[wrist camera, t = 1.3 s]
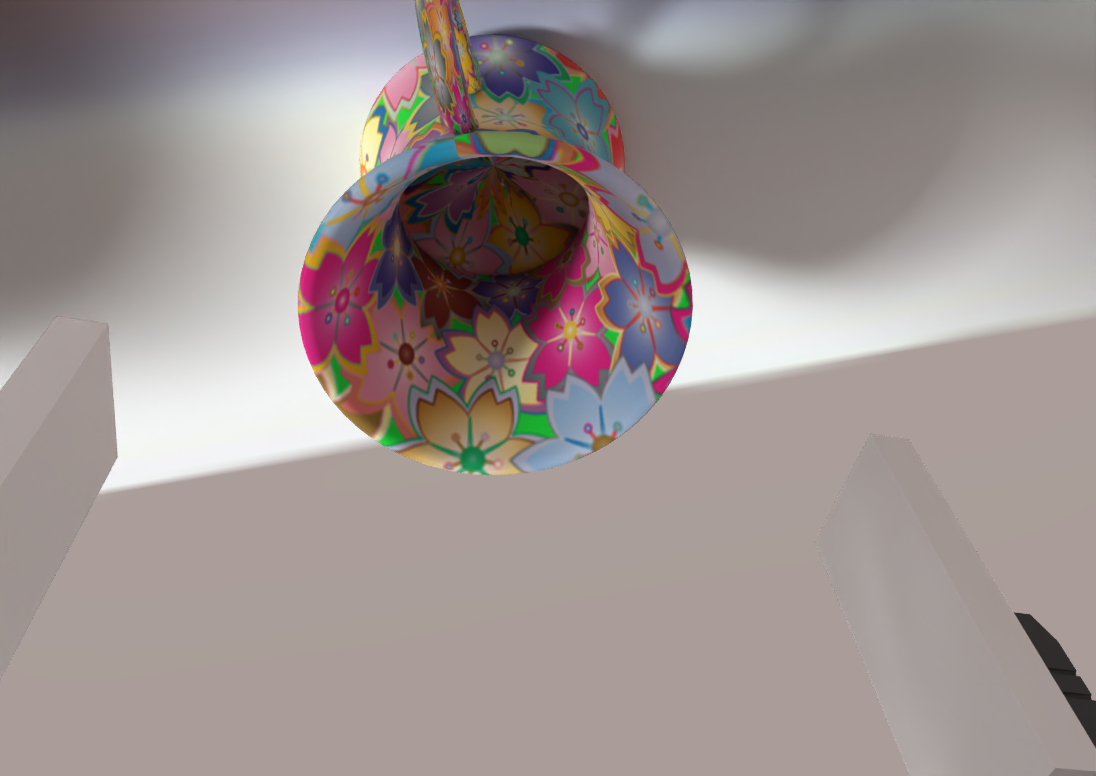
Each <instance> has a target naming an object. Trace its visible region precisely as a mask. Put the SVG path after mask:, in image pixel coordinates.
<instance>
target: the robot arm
mask: <svg viewBox="0 0 1096 776" xmlns="http://www.w3.org/2000/svg"><path fill="white" fill-rule="evenodd" d="M117 457H118V456H117V442H116V427H115V413H114V399H113V385H112V371H111V357H110V343H109V329H108V324H106V323H99V322H93V321H86V320H79V319H72V318H65V317H58V316H57V317H56V318H55V319H54V321H53V322H52V323H51V325H50V326H49V327H48V328H47V330H46V331H45V332H44V334H43V335H42V336H41V338H40V339H39V340H38V342H37V343H36V344H35V346H34V347H33V348H32V349H31V351H30V352H29V353H28V355H27V356H26V357H25V359H24V360H23V361H22V363H21V364H20V365H19V367H18V368H17V369H16V370H15V372H14V373H13V374H12V376H11V377H10V378H9V380H8V381H7V382H6V384H5V385H4V386H3V388H2V389H1V390H0V680H1V678H2V676H3V674H4V672H5V670H6V668H7V666H8V665H9V663H10V661H11V659H12V657H13V655H14V653H15V651H16V649H17V647H18V646H19V644H20V642H21V640H22V638H23V636H24V634H25V632H26V630H27V628H28V626H29V625H30V623H31V621H32V619H33V617H34V615H35V613H36V611H37V609H38V607H39V606H40V604H41V602H42V599H43V598H44V596H45V594H46V592H47V590H48V588H49V586H50V585H51V583H52V581H53V579H54V577H55V575H56V573H57V571H58V569H59V567H60V566H61V564H62V562H63V560H64V558H65V556H66V554H67V552H68V550H69V548H70V546H71V544H72V543H73V541H74V539H75V537H76V535H77V533H78V531H79V529H80V527H81V526H82V523H83V522H84V520H85V518H86V516H87V514H88V512H89V510H90V508H91V506H92V504H93V503H94V501H95V499H96V497H97V495H98V493H99V491H100V489H101V487H102V486H103V484H104V482H105V480H106V478H107V476H108V474H109V472H110V470H111V468H112V466H113V465H114V463H115V461H116V459H117ZM815 544H816V547H817V550H818V552H819V554H820V557H821V559H822V562H823V564H824V567H825V569H826V572H827V574H828V577H829V579H830V581H831V584H832V586H833V588H834V591H835V594H836V596H837V599H838V601H839V604H840V606H841V608H842V611H843V613H844V616H845V618H846V620H847V623H848V626H849V628H850V631H851V633H852V635H853V638H854V640H855V643H856V645H857V648H858V650H859V653H860V655H861V658H862V660H863V662H864V665H865V667H866V670H867V672H868V675H869V677H870V679H871V682H872V684H873V687H874V689H875V692H876V694H877V697H878V699H879V702H880V704H881V706H882V709H883V712H884V714H885V716H886V719H887V721H888V724H889V726H890V728H891V731H892V734H893V736H894V738H895V741H896V743H897V746H898V748H899V751H900V753H901V756H902V758H903V760H904V763H905V766H906V768H907V770H908V773H909V775H910V776H1096V701H1094V700H1091V693H1090V692H1089V690H1088V688H1087V687H1086V685H1085V684H1084V682H1083V680H1082V679H1081V677H1079V676H1076V669H1075V668H1074V667H1073V665H1072V663H1071V662H1070V660H1069V658H1068V657H1067V655H1066V654H1065V652H1064V650H1063V649H1062V647H1061V646H1060V644H1059V643H1058V641H1057V640H1056V639H1055V638H1054V637H1053V636H1052V635H1051V634H1050V633H1049V632H1048V631H1046V629H1045V628H1043V627H1042V626H1041V625H1040V624H1039V623H1038V622H1037V621H1036V620H1035V619H1034V618H1033V617H1032V616H1031V615H1030V614H1022V613H1014V612H1013V611H1012V609H1011V607H1010V606H1009V604H1008V602H1007V601H1006V599H1005V597H1004V596H1003V594H1002V593H1001V591H1000V589H999V587H998V586H997V584H996V582H995V581H994V579H993V577H992V576H991V574H990V573H989V571H988V569H987V568H986V566H985V564H984V563H983V561H982V559H981V558H980V556H979V554H978V553H977V551H976V550H975V548H974V546H973V544H972V543H971V541H970V539H969V538H968V536H967V535H966V533H965V531H964V529H963V528H962V526H961V524H960V523H959V521H958V520H957V518H956V516H955V515H954V513H953V511H952V510H951V508H950V506H949V505H948V503H947V501H946V500H945V498H944V496H943V495H942V493H941V491H940V490H939V488H938V487H937V485H936V483H935V482H934V480H933V478H932V477H931V475H930V473H929V472H928V470H927V468H926V467H925V465H924V463H923V462H922V460H921V458H920V457H919V455H918V453H917V452H916V450H915V448H914V447H913V445H912V443H911V442H910V440H909V439H905V438H898V437H891V436H883V435H877V434H870V435H869V437H868V439H867V441H866V443H865V445H864V447H863V449H862V451H861V453H860V454H859V456H858V458H857V461H856V462H855V464H854V466H853V468H852V470H851V472H850V474H849V476H848V478H847V480H846V482H845V483H844V486H843V487H842V489H841V492H840V493H839V495H838V497H837V499H836V501H835V503H834V505H833V507H832V509H831V511H830V513H829V514H828V517H827V518H826V520H825V522H824V524H823V526H822V528H821V530H820V532H819V534H818V536H817V538H816V540H815Z"/></svg>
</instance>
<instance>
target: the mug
mask: <svg viewBox="0 0 1096 776" xmlns="http://www.w3.org/2000/svg"><path fill="white" fill-rule="evenodd" d="M415 8H416V14H417V21H418V27H419V32H420V37H421V42H422V47H423V52H424V53H422V54H421V55H419V56H417V57H416V58H414V59H413V60H411V61H410V62H409V63H408V64H406V65H405V66H404V67H402V68H401V69H400V70H399V71H398V72H397V73H396V74H395V75H394V76H393V77H392V78H391V80H390V81H389V82H388V83H387V84H386V85H385V87H384V88H383V90H382V91H381V93H380V94H379V96H378V97H377V99H376V101H375V102H374V104H373V106H372V108H371V110H370V113H369V115H368V118H367V120H366V123H365V127H364V130H363V134H362V140H361V146H360V173H361V178H360V179H359V180H358V181H357V182H356V183H354V184H353V185H352V186H351V187H350V188H349V189H348V190H347V191H346V192H345V193H344V194H343V195H342V196H341V197H340V198H339V200H338V201H337V202H336V203H335V204H334V205H333V206H332V208H331V209H330V211H329V212H328V214H327V215H326V217H325V218H324V219H323V221H322V222H321V224H320V226H319V228H318V230H317V232H316V233H315V235H314V237H313V239H312V242H311V244H310V247H309V249H308V252H307V254H306V257H305V261H304V265H303V268H302V272H301V277H300V284H299V291H298V315H299V326H300V331H301V336H302V341H303V344H304V347H305V350H306V354H307V357H308V359H309V361H310V364H311V366H312V368H313V370H314V373H315V375H316V377H317V378H318V380H319V382H320V383H321V385H322V387H323V389H324V390H325V391H326V393H327V394H328V396H329V397H330V398H331V400H332V401H333V402H334V404H335V405H336V406H337V407H338V408H339V409H340V410H341V412H342V413H343V414H344V415H345V416H346V417H347V418H348V419H349V420H350V421H352V422H353V423H354V424H355V425H356V426H357V427H358V428H359V429H361V430H362V431H363V432H365V433H366V434H367V435H368V436H370V437H371V438H373V439H374V440H376V441H377V442H379V443H381V444H382V445H384V446H385V447H387V448H389V449H391V450H393V451H395V452H397V453H399V454H401V455H403V456H405V457H408V458H410V459H412V460H415V461H417V462H421V463H424V464H427V465H429V466H433V467H437V468H441V469H445V470H449V471H455V472H460V473H468V474H478V475H511V474H521V473H529V472H535V471H540V470H545V469H549V468H553V467H556V466H559V465H563V464H566V463H569V462H572V461H574V460H577V459H580V458H582V457H584V456H586V455H589V454H591V453H593V452H595V451H597V450H598V449H600V448H602V447H604V446H606V445H607V444H609V443H611V442H612V441H614V440H615V439H616V438H618V437H620V436H621V435H623V434H624V433H625V432H626V431H628V430H629V429H630V428H631V427H633V426H634V425H635V424H636V423H637V422H638V421H639V420H640V419H641V418H642V417H643V416H644V415H645V414H647V413H648V411H649V410H650V409H651V408H652V407H653V406H654V405H655V403H656V402H657V401H658V400H659V398H660V397H661V396H662V394H663V393H664V391H665V390H666V388H667V387H668V386H669V384H670V382H671V380H672V378H673V377H674V375H675V373H676V371H677V369H678V366H679V364H680V362H681V359H682V357H683V354H684V351H685V348H686V345H687V342H688V338H689V332H690V327H691V321H692V309H693V303H692V286H691V279H690V273H689V269H688V265H687V262H686V258H685V255H684V252H683V250H682V247H681V245H680V242H679V240H678V237H677V236H676V234H675V232H674V230H673V228H672V226H671V224H670V222H669V221H668V219H667V218H666V216H665V215H664V214H663V212H662V211H661V209H660V208H659V206H658V205H657V204H656V203H655V202H654V201H653V199H652V198H651V197H650V196H649V195H648V194H647V193H646V192H645V191H644V190H643V189H642V188H641V187H640V186H639V185H638V184H637V183H636V182H635V181H634V180H633V179H631V178H630V177H629V176H627V175H626V174H625V173H624V164H625V159H624V147H623V141H622V136H621V132H620V128H619V125H618V122H617V120H616V117H615V115H614V112H613V110H612V108H611V106H610V104H609V102H608V100H607V99H606V97H605V96H604V94H603V93H602V91H601V90H600V89H599V87H598V86H597V85H596V84H595V82H594V81H593V80H592V79H591V78H590V77H589V76H588V75H587V74H586V73H585V72H584V71H583V70H582V69H581V68H580V67H578V66H577V65H576V64H575V63H573V62H572V61H571V60H569V59H568V58H566V57H565V56H563V55H561V54H560V53H558V52H556V51H554V50H552V49H550V48H548V47H546V46H543V45H541V44H538V43H536V42H533V41H529V40H525V39H522V38H517V37H511V36H502V35H478V36H471V37H469V35H468V31H467V27H466V24H465V20H464V17H463V13H462V10H461V7H460V3H459V0H415Z"/></svg>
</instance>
